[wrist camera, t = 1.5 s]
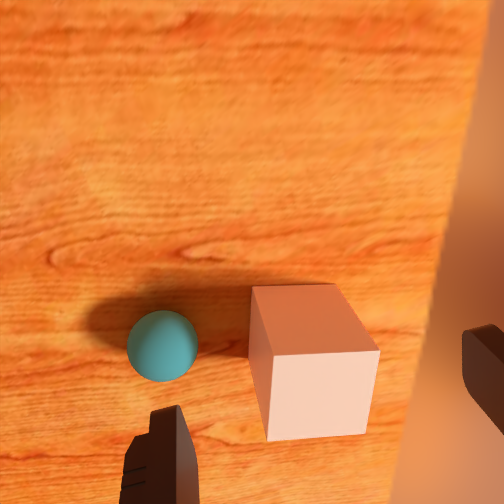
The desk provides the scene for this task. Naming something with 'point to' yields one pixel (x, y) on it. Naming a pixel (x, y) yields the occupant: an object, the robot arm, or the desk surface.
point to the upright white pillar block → (310, 362)
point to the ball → (162, 346)
